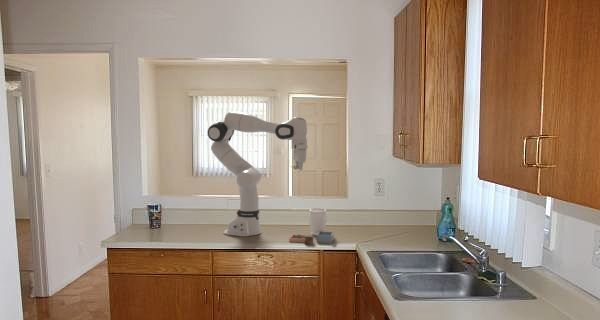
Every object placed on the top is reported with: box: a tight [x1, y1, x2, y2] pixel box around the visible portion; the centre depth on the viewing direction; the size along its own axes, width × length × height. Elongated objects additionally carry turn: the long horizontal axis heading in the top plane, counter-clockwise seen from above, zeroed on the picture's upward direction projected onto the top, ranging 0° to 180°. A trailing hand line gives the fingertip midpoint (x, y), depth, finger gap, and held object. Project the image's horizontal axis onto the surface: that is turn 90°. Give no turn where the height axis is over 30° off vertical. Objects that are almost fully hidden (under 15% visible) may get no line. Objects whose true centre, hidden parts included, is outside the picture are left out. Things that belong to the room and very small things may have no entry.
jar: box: [308, 207, 327, 236], centre depth 254 cm, size 11×10×15 cm
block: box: [304, 234, 314, 246], centre depth 231 cm, size 4×4×5 cm
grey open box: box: [316, 231, 334, 244], centre depth 236 cm, size 8×8×5 cm
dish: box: [288, 234, 307, 244], centre depth 238 cm, size 9×9×2 cm
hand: (299, 169), depth 244 cm, fingers open, 8 cm apart
